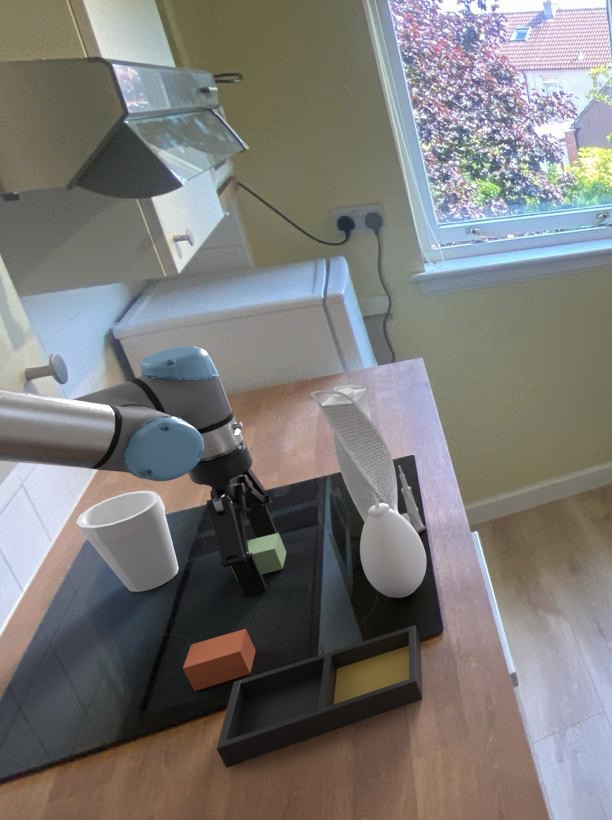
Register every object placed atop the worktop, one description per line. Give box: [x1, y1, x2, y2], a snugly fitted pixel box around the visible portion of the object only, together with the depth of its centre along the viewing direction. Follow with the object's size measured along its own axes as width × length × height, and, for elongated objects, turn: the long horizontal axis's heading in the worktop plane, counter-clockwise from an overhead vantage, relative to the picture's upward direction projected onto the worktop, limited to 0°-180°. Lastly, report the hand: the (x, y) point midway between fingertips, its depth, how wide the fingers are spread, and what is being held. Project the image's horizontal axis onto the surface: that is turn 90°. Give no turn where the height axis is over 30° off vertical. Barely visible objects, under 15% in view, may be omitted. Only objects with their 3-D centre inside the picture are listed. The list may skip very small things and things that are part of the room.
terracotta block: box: [182, 628, 256, 692], centre depth 96 cm, size 6×4×4 cm
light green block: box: [230, 532, 287, 582], centre depth 115 cm, size 6×4×4 cm
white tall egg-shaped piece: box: [359, 492, 427, 599], centre depth 105 cm, size 8×8×18 cm
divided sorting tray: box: [215, 625, 423, 768], centre depth 91 cm, size 20×11×3 cm, turn 116°
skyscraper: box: [310, 384, 427, 535], centre depth 117 cm, size 8×8×28 cm
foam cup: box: [75, 490, 180, 593], centre depth 111 cm, size 10×9×13 cm
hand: (263, 565), depth 116 cm, fingers open, 13 cm apart
